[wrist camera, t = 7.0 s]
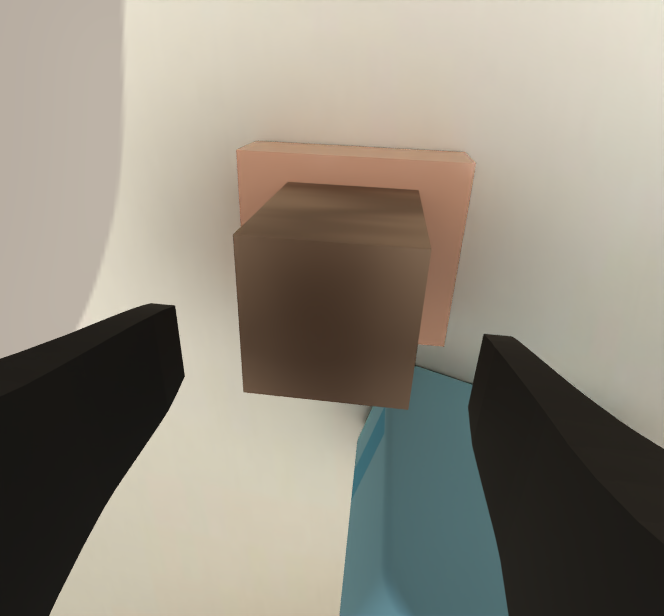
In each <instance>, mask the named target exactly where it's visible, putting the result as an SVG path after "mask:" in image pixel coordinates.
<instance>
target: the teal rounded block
mask: <svg viewBox="0 0 664 616" xmlns="http://www.w3.org/2000/svg"><path fill="white" fill-rule="evenodd" d="M472 386H473V385H472V384H469V383H466V382H463V381H460V380H457V379H454V378H451V377H448V376H445V375H442V374H439V373H436V372H433V371H430V370H427V369H424V368H421V367H417V366H415V367H414V374H413V381H412V388H411V395H410V402H409V409H408V410H404V409H395V408H386V407H376V406H373V407H372V409H371V412H370V414H369V416H368V418H367V420H366V423H365V425H364V427H363V429H362V431H361V433H360V436H359V438H358V441H357V450H356V459H355V469H354V479H353V489H352V498H351V508H350V518H349V528H348V537H347V547H346V557H345V567H344V577H343V586H342V596H341V606H340V616H509V615H508V608H507V602H506V595H505V588H504V582H503V575H502V568H501V562H500V557H499V552H498V547H497V543H496V538H495V534H494V530H493V526H492V522H491V519H490V515H489V511H488V507H487V503H486V499H485V495H484V491H483V487H482V483H481V480H480V476H479V472H478V468H477V464H476V460H475V455H474V451H473V447H472V440H471V432H470V423H469V413H468V404H469V399H470V395H471V390H472Z"/></svg>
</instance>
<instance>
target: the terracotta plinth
mask: <svg viewBox="0 0 664 616" xmlns="http://www.w3.org/2000/svg"><path fill="white" fill-rule="evenodd" d="M236 152H237V169H238V186H239V203H240V221H241V226H242V225H244V224H245V223H246V222H247V221H248V220H249V219H250V218H251V217H252V216H253V215H254V214H255V213H256V212H257V211H258V210H259V209H260V208H261V207H262V206H263V205H264V204H265V203H266V202H267V201H268V200H269V199H270V198H271V197H273V196H274V195H275V194H276V193H277V192H278V191H279V190H280V189H281V188H282V187H283V186H284V185H285V184H286V183H287V182H299V183H315V184H331V185H346V186H362V187H378V188H394V189H410V190H419V194H420V199H421V204H422V208H423V213H424V217H425V222H426V227H427V231H428V236H429V240H430V245H431V256H430V263H429V270H428V277H427V284H426V291H425V298H424V305H423V312H422V319H421V326H420V333H419V339H418V344H422V345H433V346H443V347H444V343H445V338H446V332H447V326H448V320H449V315H450V309H451V303H452V297H453V292H454V286H455V280H456V275H457V269H458V263H459V257H460V252H461V246H462V240H463V235H464V229H465V223H466V217H467V212H468V206H469V200H470V194H471V189H472V183H473V177H474V172H475V166H476V163H475V162H474V161H473V160H472V159H471V158H470V157H469V156H468V154H467V153H466V152H453V151H435V150H416V149H398V148H379V147H361V146H342V145H324V144H305V143H287V142H268V141H255V142H253V143H250V144H248V145H246V146H244V147H241V148H239V149H237V150H236Z"/></svg>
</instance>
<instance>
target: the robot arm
mask: <svg viewBox="0 0 664 616" xmlns="http://www.w3.org/2000/svg"><path fill="white" fill-rule="evenodd" d="M184 377H185V374H184V367H183V360H182V353H181V345H180V338H179V331H178V324H177V316H176V309H175V306H174V305H163V304H153V303H150V304H146V305H143V306H139V307H136V308H133V309H130V310H128V311H125V312H122V313H120V314H117V315H115V316H112V317H110V318H107V319H105V320H102V321H100V322H97V323H95V324H92V325H90V326H87V327H85V328H82V329H80V330H77V331H75V332H72V333H70V334H67V335H65V336H62V337H59V338H57V339H54V340H51V341H49V342H46V343H43V344H40V345H38V346H35V347H32V348H30V349H27V350H24V351H21V352H19V353H16V354H13V355H10V356H7V357H4V358H1V359H0V616H49V615H50V612H51V610H52V608H53V606H54V604H55V602H56V600H57V597H58V595H59V593H60V591H61V589H62V587H63V585H64V583H65V581H66V579H67V577H68V576H69V574H70V572H71V570H72V568H73V566H74V564H75V562H76V560H77V558H78V556H79V554H80V552H81V550H82V548H83V546H84V544H85V542H86V540H87V538H88V537H89V535H90V533H91V531H92V529H93V527H94V525H95V524H96V522H97V520H98V518H99V516H100V514H101V513H102V511H103V509H104V507H105V505H106V504H107V502H108V501H109V499H110V497H111V496H112V494H113V492H114V491H115V489H116V488H117V486H118V485H119V483H120V482H121V480H122V479H123V477H124V476H125V474H126V473H127V472H128V470H129V469H130V467H131V466H132V464H133V463H134V461H135V460H136V458H137V457H138V455H139V454H140V452H141V451H142V450H143V448H144V447H145V445H146V444H147V442H148V441H149V439H150V438H151V436H152V435H153V433H154V432H155V430H156V429H157V427H158V426H159V424H160V423H161V421H162V420H163V418H164V417H165V415H166V414H167V412H168V410H169V408H170V406H171V404H172V402H173V400H174V398H175V396H176V394H177V392H178V390H179V388H180V386H181V383H182V381H183V379H184ZM468 413H469V423H470V432H471V440H472V447H473V451H474V455H475V460H476V464H477V468H478V472H479V476H480V480H481V483H482V487H483V491H484V495H485V499H486V503H487V507H488V511H489V515H490V519H491V522H492V526H493V530H494V534H495V538H496V543H497V547H498V552H499V557H500V562H501V568H502V575H503V582H504V588H505V595H506V602H507V608H508V615H509V616H664V449H663V448H661V447H660V446H658V445H656V444H655V443H653V442H652V441H650V440H648V439H647V438H645V437H644V436H642V435H640V434H639V433H637V432H636V431H634V430H633V429H631V428H630V427H628V426H627V425H625V424H624V423H622V422H621V421H619V420H618V419H617V418H615V417H614V416H612V415H611V414H610V413H608V412H607V411H606V410H604V409H603V408H601V407H600V406H599V405H597V404H596V403H595V402H593V401H592V400H591V399H589V398H588V397H587V396H585V395H584V394H583V393H581V392H580V391H579V390H578V389H576V388H575V387H574V386H573V385H571V384H570V383H569V382H568V381H566V380H565V379H564V378H563V377H561V376H560V375H559V374H558V373H557V372H555V371H554V370H553V369H552V368H550V367H549V366H548V365H547V364H546V363H545V362H543V361H542V360H541V359H540V358H539V357H537V356H536V355H535V354H534V353H533V352H531V351H530V350H529V349H528V348H527V347H525V346H524V345H523V344H522V343H520V342H519V341H518V340H516V339H515V338H513V337H511V336H500V335H489V334H484V335H483V340H482V344H481V349H480V354H479V358H478V363H477V367H476V372H475V376H474V381H473V386H472V390H471V395H470V399H469V404H468Z"/></svg>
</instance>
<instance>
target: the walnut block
mask: <svg viewBox="0 0 664 616" xmlns="http://www.w3.org/2000/svg"><path fill="white" fill-rule="evenodd" d="M233 241H234V256H235V271H236V286H237V301H238V316H239V331H240V346H241V361H242V376H243V391H244V392H247V393H256V394H265V395H274V396H284V397H293V398H302V399H312V400H321V401H330V402H339V403H349V404H358V405H367V406H376V407H386V408H395V409H404V410H408V409H409V402H410V395H411V388H412V381H413V374H414V367H415V360H416V353H417V346H418V339H419V333H420V326H421V319H422V312H423V305H424V298H425V291H426V284H427V277H428V270H429V263H430V256H431V245H430V240H429V236H428V231H427V227H426V222H425V217H424V213H423V208H422V204H421V199H420V194H419V190H410V189H394V188H378V187H362V186H346V185H331V184H315V183H299V182H287V183H286V184H285V185H284V186H283V187H282V188H281V189H280V190H279V191H278V192H277V193H276V194H275V195H274V196H273V197H271V198H270V199H269V200H268V201H267V202H266V203H265V204H264V205H263V206H262V207H261V208H260V209H259V210H258V211H257V212H256V213H255V214H254V215H253V216H252V217H251V218H250V219H249V220H248V221H247V222H246V223H245V224H244V225H242V226H241V227H240V228H239V229H238V230H237V231H236V232H235V233H234V234H233Z"/></svg>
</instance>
